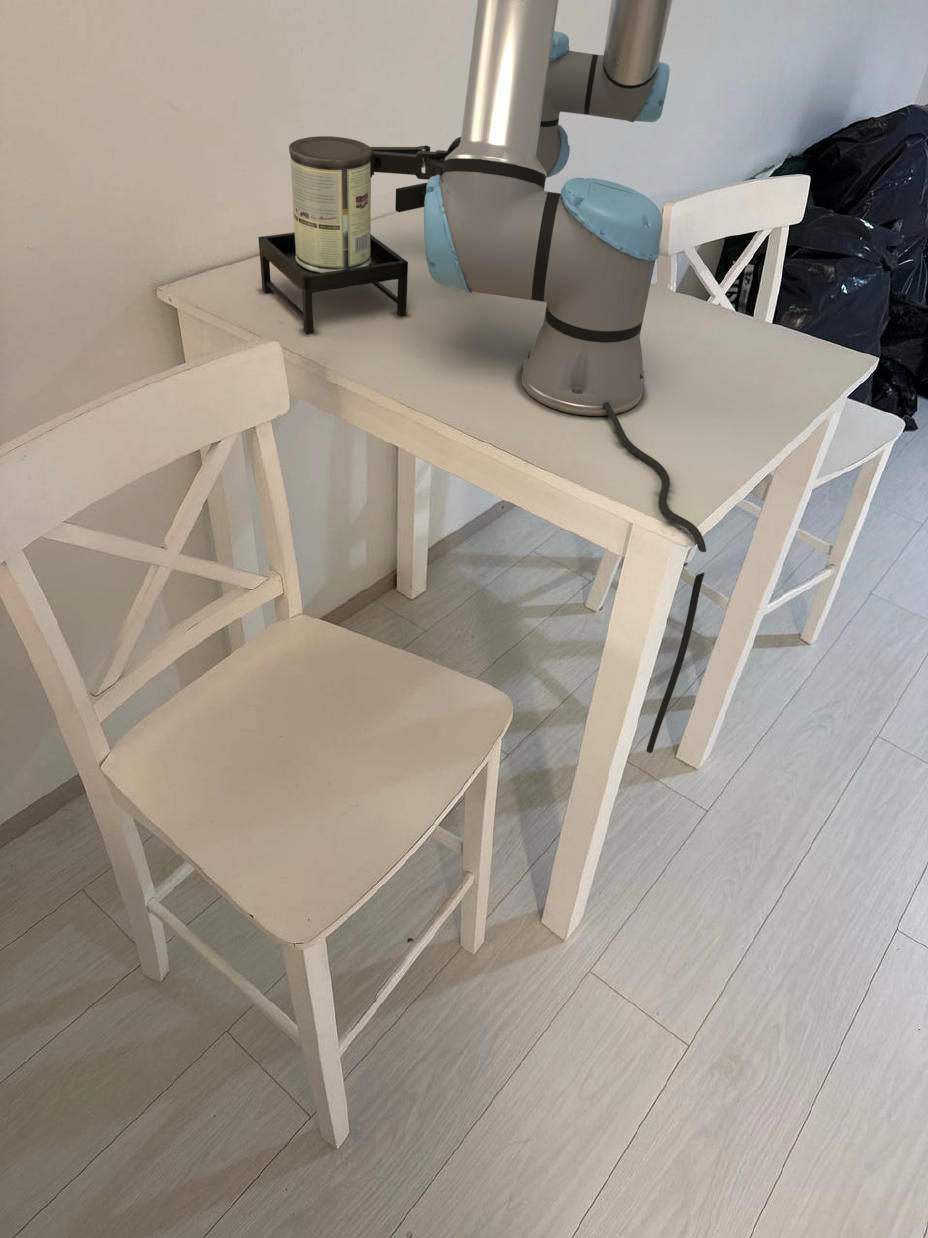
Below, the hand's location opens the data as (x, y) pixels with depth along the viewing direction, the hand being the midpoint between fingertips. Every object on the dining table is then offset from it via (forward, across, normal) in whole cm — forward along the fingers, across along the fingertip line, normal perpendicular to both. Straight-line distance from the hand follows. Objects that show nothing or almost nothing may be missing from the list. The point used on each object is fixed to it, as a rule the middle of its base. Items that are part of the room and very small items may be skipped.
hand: (364, 185), depth 120 cm
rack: (+5, 0, -15) cm, 16 cm away
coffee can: (+5, 0, -9) cm, 11 cm away
